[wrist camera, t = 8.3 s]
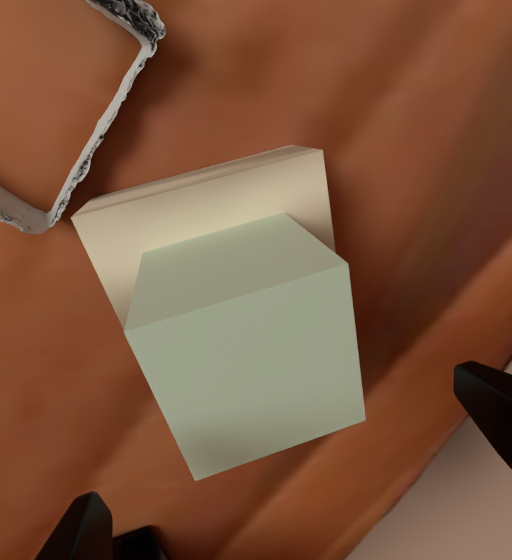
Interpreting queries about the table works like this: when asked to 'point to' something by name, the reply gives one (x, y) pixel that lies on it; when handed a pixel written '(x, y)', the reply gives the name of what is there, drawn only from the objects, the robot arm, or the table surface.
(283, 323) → the green cube
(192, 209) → the beige square block
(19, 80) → the table surface
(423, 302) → the table surface
